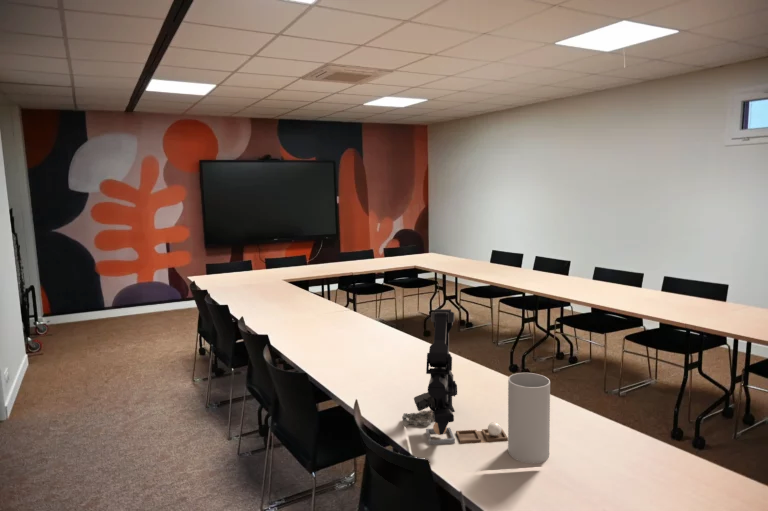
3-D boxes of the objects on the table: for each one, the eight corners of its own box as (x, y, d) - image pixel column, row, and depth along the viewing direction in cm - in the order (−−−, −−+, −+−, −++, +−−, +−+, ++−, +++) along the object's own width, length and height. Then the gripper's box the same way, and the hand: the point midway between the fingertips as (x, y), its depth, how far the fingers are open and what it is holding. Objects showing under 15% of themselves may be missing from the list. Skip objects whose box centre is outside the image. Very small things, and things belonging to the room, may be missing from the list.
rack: (455, 435, 174) (455, 430, 173) (501, 432, 174) (501, 427, 174) (460, 446, 166) (460, 441, 165) (508, 443, 166) (508, 438, 166)
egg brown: (432, 431, 172) (432, 418, 172) (445, 430, 172) (445, 417, 172) (434, 437, 168) (434, 424, 167) (448, 437, 168) (447, 424, 167)
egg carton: (432, 421, 185) (432, 410, 185) (430, 430, 178) (429, 419, 177) (404, 418, 188) (404, 408, 187) (400, 428, 181) (400, 417, 180)
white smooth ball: (486, 432, 172) (486, 420, 172) (499, 432, 173) (499, 419, 172) (489, 439, 168) (489, 426, 167) (503, 438, 168) (503, 425, 167)
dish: (426, 435, 174) (425, 428, 174) (450, 433, 175) (449, 427, 174) (429, 447, 166) (429, 440, 166) (454, 445, 166) (454, 439, 166)
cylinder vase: (557, 462, 155) (558, 384, 151) (521, 469, 151) (522, 390, 148) (534, 443, 166) (535, 370, 163) (500, 449, 163) (500, 375, 160)
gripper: (412, 377, 177) (413, 419, 179) (418, 399, 158) (420, 445, 160) (443, 375, 177) (444, 417, 179) (453, 397, 159) (454, 443, 161)
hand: (440, 430), depth 170 cm, fingers closed on egg brown, 5 cm apart
